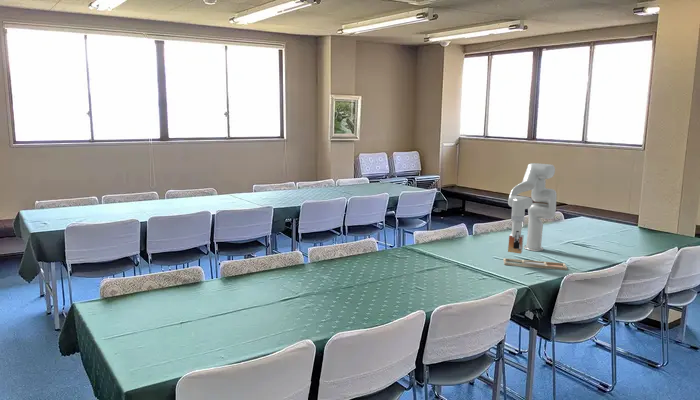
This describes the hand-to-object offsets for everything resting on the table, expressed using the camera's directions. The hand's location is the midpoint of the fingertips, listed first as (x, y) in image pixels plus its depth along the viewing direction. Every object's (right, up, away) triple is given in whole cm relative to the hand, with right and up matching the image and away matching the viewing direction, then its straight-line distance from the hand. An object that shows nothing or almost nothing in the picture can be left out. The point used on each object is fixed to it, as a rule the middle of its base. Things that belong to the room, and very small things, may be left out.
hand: (515, 246), depth 323 cm
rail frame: (+11, -11, -1) cm, 16 cm away
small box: (0, -3, +1) cm, 4 cm away
